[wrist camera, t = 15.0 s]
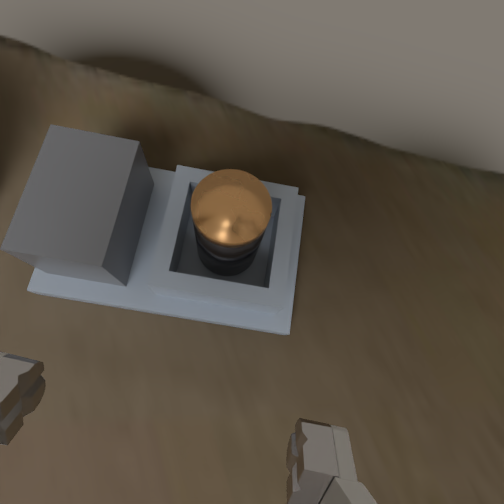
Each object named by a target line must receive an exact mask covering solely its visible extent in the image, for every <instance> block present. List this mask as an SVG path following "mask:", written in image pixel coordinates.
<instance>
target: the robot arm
mask: <svg viewBox="0 0 504 504" xmlns="http://www.w3.org/2000/svg"><path fill="white" fill-rule="evenodd" d="M43 371H44V364H43V362H40V361H36V360H32V359H28V358H24V357H20V356H16V355H12V354H8V353H4V352H0V444H3V445H8V444H9V443H10V441H11V440H12V439H13V438H14V436H15V435H16V434H17V432H18V431H19V430H20V428H21V427H22V426H23V417H24V416H26V415H28V414H29V413H31V412H33V411H34V410H35V408H36V407H37V406H38V404H39V403H40V401H41V399H42V397H43V394H44V391H45V379H44V378H43V377H42V376H41V373H42V372H43ZM286 466H287V468H288V470H289V472H290V475H289V477H288V479H287V504H377V503H376V501H375V500H374V498H373V497H372V496H371V494H370V493H369V491H368V490H367V489H366V487H365V486H364V484H363V483H361V482H358V480H357V475H356V470H355V465H354V460H353V454H352V449H351V444H350V439H349V434H348V431H347V429H346V428H343V427H338V426H334V425H329V424H326V423H321V422H317V421H312V420H307V419H302V418H299V419H298V420H297V422H296V425H295V433H293V434H291V437H290V439H289V443H288V448H287V457H286Z"/></svg>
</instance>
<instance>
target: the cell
mask: <svg viewBox="0 0 504 504" xmlns="http://www.w3.org/2000/svg"><path fill="white" fill-rule="evenodd" d="M191 213H192V219H193V226H194V232H195V238H196V244H197V250H198V255H199V258H200V260H201V262H202V263H203V265H204V266H205V267H206V268H207V269H208V270H210V271H211V272H213V273H215V274H218V275H222V276H233V275H237V274H240V273H242V272H244V271H245V270H246V269H248V268H249V267H250V265H251V264H252V263H253V261H254V259H255V256H256V254H257V251H258V249H259V246H260V243H261V241H262V238H263V236H264V233H265V231H266V228H267V225H268V223H269V220H270V217H271V213H272V201H271V197H270V194H269V192H268V190H267V188H266V187H265V186H264V184H263V183H262V182H261V181H260V180H259V179H258V178H256V177H255V176H253V175H251V174H250V173H247V172H245V171H241V170H236V169H224V170H219V171H216V172H213V173H211V174H209V175H207V176H206V177H205V178H203V179H202V180H201V181H200V182H199V183H198V185H197V186H196V188H195V189H194V192H193V194H192V197H191Z"/></svg>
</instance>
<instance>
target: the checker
mask: <svg viewBox="0 0 504 504" xmlns="http://www.w3.org/2000/svg"><path fill="white" fill-rule="evenodd" d="M211 173H213V171H207V170H202V169H197V168H191V167H186V166H181V165H177V168H176V172H173V171H168V170H162V169H157V168H152V167H148V164H147V161H146V159H145V156H144V153H143V150H142V147H141V144H140V141H135V140H130V139H125V138H119V137H114V136H109V135H104V134H98V133H93V132H88V131H83V130H77V129H72V128H67V127H62V126H56V125H50V127H49V130H48V132H47V135H46V137H45V140H44V142H43V145H42V147H41V150H40V152H39V154H38V157H37V159H36V162H35V164H34V167H33V169H32V172H31V174H30V177H29V179H28V182H27V184H26V187H25V189H24V191H23V194H22V196H21V199H20V201H19V204H18V206H17V209H16V211H15V214H14V216H13V219H12V221H11V224H10V226H9V228H8V231H7V233H6V236H5V238H4V241H3V243H2V246H1V248H0V249H1V250H3V251H5V252H7V253H9V254H11V255H13V256H14V257H16V258H18V259H20V260H22V261H24V262H26V263H28V264H30V265H32V266H34V267H35V269H34V272H33V274H32V277H31V280H30V283H29V285H28V288H27V291H30V292H33V293H35V294H40V295H46V296H52V297H58V298H64V299H70V300H76V301H82V302H88V303H94V304H100V305H106V306H112V307H118V308H124V309H130V310H136V311H142V312H148V313H154V314H160V315H166V316H172V317H178V318H184V319H190V320H196V321H202V322H208V323H214V324H220V325H226V326H232V327H238V328H244V329H250V330H256V331H262V332H268V333H274V334H280V335H288V334H290V325H291V317H292V308H293V299H294V291H295V282H296V273H297V265H298V256H299V247H300V239H301V230H302V221H303V213H304V204H305V196H301V195H298V187H292V186H287V185H282V184H276V183H271V182H266V181H261V182H262V183H263V184H264V186H265V187H266V188H267V190H268V192H269V194H270V197H271V201H272V213H271V217H270V220H269V223H268V225H267V228H266V231H265V233H264V236H263V238H262V241H261V243H260V246H259V249H258V251H257V254H256V256H255V259H254V261H253V263H252V264H251V265H250V267H249V268H248V269H246V270H245V271H244V272H242V273H240V274H237V275H233V276H222V275H218V274H215V273H213V272H211V271H210V270H208V269H207V268H206V267H205V266H204V265H203V263H202V262H201V260H200V258H199V255H198V250H197V244H196V238H195V232H194V226H193V219H192V213H191V197H192V194H193V192H194V189H195V188H196V186H197V185H198V183H199V182H200V181H201V180H202V179H203V178H205V177H206V176H207V175H209V174H211Z"/></svg>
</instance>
